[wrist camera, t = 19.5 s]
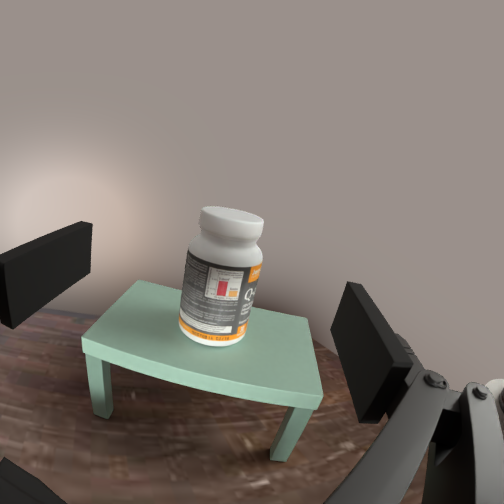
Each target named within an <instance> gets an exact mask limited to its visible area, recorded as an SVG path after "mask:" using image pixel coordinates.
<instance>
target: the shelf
mask: <svg viewBox="0 0 504 504" xmlns="http://www.w3.org/2000/svg"><path fill="white" fill-rule="evenodd" d="M181 294H182V291H181V290H178V289H174V288H170V287H165V286H162V285H158V284H154V283H150V282H146V281H143V280H138V281H137V282H136V283H135V284H134V285H133V286H131V287H130V288H129V289H128V290H127V291H126V293H124V295H122V296H121V297H120V298H119V299H118V300H117V301H116V302H115V303H114V304H113V305H112V306H111V307H110V308H109V309H108V310H107V311H106V312H105V314H103V315H102V316H101V317H100V318H99V319H98V320H97V321H96V322H95V323H94V324H93V325H92V326H91V328H90V329H89V330H88V331H87V332H86V333H85V334H84V335H83V336H82V337H81V338H82V349H83V353H85V355H86V364H87V373H88V381H89V388H90V394H91V401H92V407H93V412H94V414H95V415H98V416H100V417H103V418H105V419H109V417H110V415H111V413H112V411H113V410H114V408H113V398H112V386H111V373H110V363H113V364H116V365H119V366H122V367H124V368H127V369H130V370H134V371H137V372H140V373H143V374H146V375H149V376H153V377H156V378H159V379H163V380H166V381H170V382H174V383H177V384H181V385H185V386H189V387H193V388H197V389H201V390H205V391H209V392H214V393H218V394H223V395H227V396H232V397H237V398H242V399H247V400H253V401H258V402H264V403H270V404H277V405H283V406H289V407H288V410H287V412H286V414H285V417H284V419H283V421H282V423H281V426H280V428H279V430H278V432H277V434H276V436H275V439H274V441H273V443H272V445H271V447H270V460H274V461H284V462H286V461H287V459H288V457H289V456H290V454H291V452H292V450H293V448H294V447H295V445H296V443H297V441H298V439H299V437H300V436H301V434H302V432H303V430H304V428H305V426H306V424H307V422H308V420H309V418H310V416H311V414H312V412H313V410H317V408H318V406H319V404H320V402H321V400H322V398H323V391H322V386H321V381H320V377H319V372H318V367H317V362H316V358H315V353H314V348H313V344H312V339H311V335H310V330H309V326H308V321H307V318H304V317H298V316H293V315H288V314H283V313H279V312H274V311H269V310H264V309H259V308H255V307H251V312H250V316H249V320H248V324H247V329H246V332H245V335H244V337H243V338H242V339H241V340H240V341H238V342H237V343H235V344H232V345H229V346H208V345H204V344H201V343H198V342H195V341H194V340H192V339H190V338H189V337H187V336H186V335H185V334H184V333H183V332H182V330H181V328H180V326H179V310H180V302H181Z"/></svg>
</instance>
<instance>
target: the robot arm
mask: <svg viewBox="0 0 504 504" xmlns="http://www.w3.org/2000/svg"><path fill="white" fill-rule="evenodd" d="M92 226H93V224H92V223H88V222H83V221H80V222H77V223H75V224H72V225H70V226H67V227H64V228H62V229H59V230H57V231H54V232H52V233H49V234H47V235H44V236H42V237H39V238H37V239H35V240H33V241H30V242H28V243H25V244H23V245H20V246H18V247H16V248H14V249H11V250H9V251H7V252H5V253H2V254H0V321H1V323H2V324H3V325H5V326H7V327H9V328H11V329H14V328H16V327H17V326H18V325H20V324H21V323H22V322H23V321H25V320H26V319H27V318H29V317H30V316H31V315H32V314H34V313H35V312H36V311H38V310H39V309H40V308H42V307H43V306H44V305H46V304H47V303H49V302H50V301H51V300H53V299H54V298H55V297H57V296H58V295H59V294H61V293H62V292H64V291H65V290H66V289H68V288H69V287H71V286H72V285H73V284H75V283H76V282H77V281H79V280H81V279H82V278H83V277H85V276H86V275H88V274H89V273H90V267H91V242H92ZM330 330H331V333H332V336H333V339H334V343H335V346H336V349H337V352H338V355H339V358H340V361H341V364H342V368H343V371H344V374H345V377H346V381H347V384H348V387H349V390H350V394H351V397H352V400H353V404H354V407H355V411H356V414H357V417H358V421H359V423H369V424H378V423H379V421H380V420H381V418H382V417H383V415H384V414H385V412H386V414H387V416H388V419H389V420H388V422H387V423H386V425H385V426H384V428H383V429H382V430H381V432H380V433H379V435H378V436H377V438H376V439H375V440H374V442H373V443H372V445H371V446H370V447H369V449H368V450H367V451H366V453H365V454H364V455H363V457H362V458H361V459H360V460H359V462H358V463H357V464H356V466H355V467H354V468H353V469H352V471H351V472H350V473H349V474H348V475H347V477H346V478H345V479H344V480H343V481H342V483H341V484H340V485H339V486H338V487H337V488H336V489H335V491H334V492H333V493H332V494H331V495H330V496H329V497H328V498H327V499H326V501H325V502H324V503H323V504H400V502H401V501H402V499H403V497H404V495H405V493H406V491H407V490H408V488H409V486H410V484H411V482H412V480H413V478H414V476H415V474H416V472H417V470H418V468H419V466H420V463H421V461H422V459H423V457H424V455H425V452H426V450H427V448H428V445H429V452H428V462H427V471H426V479H425V486H424V492H423V498H422V504H504V440H503V435H502V430H501V425H500V421H499V416H498V412H497V408H496V404H495V400H494V397H493V395H492V393H491V392H490V391H489V389H488V388H487V387H485V386H484V385H481V384H479V383H475V382H471V383H468V384H467V385H466V387H465V388H464V390H463V392H458V391H454V390H450V389H449V384H448V382H447V381H446V379H445V378H444V377H443V376H441V375H440V374H438V373H436V372H434V371H431V370H425V369H424V367H423V366H422V364H421V363H420V361H419V360H418V358H417V356H416V355H414V352H413V350H412V349H411V347H410V346H409V345H408V343H407V342H406V340H404V339H403V338H402V337H401V336H400V335H399V334H395V333H394V332H393V330H392V328H391V327H390V325H389V324H388V322H387V321H386V319H385V318H384V316H383V315H382V314H381V312H380V311H379V309H378V308H377V306H376V305H375V303H374V302H373V300H372V299H371V298H370V296H369V295H368V293H367V292H366V290H365V289H364V288H363V286H362V285H361V284H357V283H353V282H347V284H346V287H345V290H344V293H343V296H342V299H341V301H340V304H339V307H338V310H337V313H336V315H335V318H334V321H333V324H332V326H331V329H330ZM499 405H500V407H501V410H502V412H503V413H504V388H503V390H502V391H501V393H500V394H499ZM0 504H67V503H66V502H65V501H63V500H62V499H61V498H60V497H59V496H57V495H56V494H55V493H54V492H53V491H52V490H50V489H49V488H48V487H47V486H46V485H45V484H44V483H43V482H41V481H40V480H39V479H38V478H36V477H35V476H33V475H31V474H30V473H28V472H26V471H25V470H23V469H22V468H20V467H19V466H17V465H16V464H14V463H13V462H11V461H10V460H8V459H7V458H5V457H4V458H3V459H2V460H1V462H0Z"/></svg>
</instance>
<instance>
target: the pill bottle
mask: <svg viewBox="0 0 504 504" xmlns="http://www.w3.org/2000/svg"><path fill="white" fill-rule="evenodd" d="M199 224H200V228H201V233H200V234H199V235H197V236H195V237H194V238H193V239H192V240H191V242H190V244H189V247H188V252H187V259H186V265H185V274H184V281H183V288H182V294H181V302H180V310H179V326H180V328H181V330H182V332H183V333H184V334H185V335H186V336H187V337H189V338H190V339H192V340H194V341H195V342H198V343H201V344H204V345H208V346H229V345H232V344H235V343H237V342H238V341H240V340H241V339H242V338H243V337H244V335H245V332H246V329H247V324H248V320H249V316H250V312H251V307H252V303H253V299H254V295H255V290H256V286H257V282H258V278H259V274H260V269H261V265H262V259H263V257H262V252H261V250H260V248H259V247H258V246H257V245H256V242H257V240H258V239H259V238H260V236H261V234H262V229H263V225H264V220H263V219H262V218H260V217H259V216H256V215H254V214H251V213H248V212H245V211H241V210H236V209H232V208H225V207H216V206H215V207H214V206H209V207H204V208H202V210H201V215H200V219H199Z"/></svg>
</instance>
